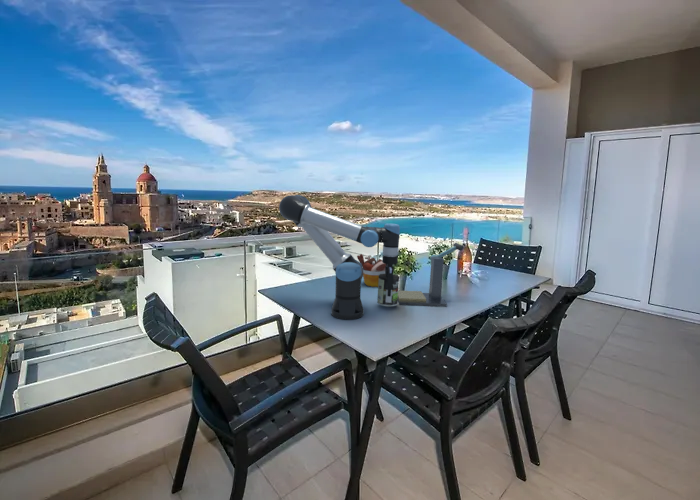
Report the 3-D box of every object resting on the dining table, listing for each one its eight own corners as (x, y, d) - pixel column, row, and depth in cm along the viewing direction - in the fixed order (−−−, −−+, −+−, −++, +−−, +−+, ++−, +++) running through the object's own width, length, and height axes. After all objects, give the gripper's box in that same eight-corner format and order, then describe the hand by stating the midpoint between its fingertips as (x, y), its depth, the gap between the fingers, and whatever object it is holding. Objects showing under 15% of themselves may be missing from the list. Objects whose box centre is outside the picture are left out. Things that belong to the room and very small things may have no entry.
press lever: (434, 265, 171) (431, 258, 171) (431, 261, 179) (428, 255, 179) (464, 249, 169) (461, 243, 169) (460, 247, 177) (456, 241, 177)
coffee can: (401, 303, 162) (403, 276, 160) (390, 308, 154) (392, 279, 152) (383, 298, 168) (385, 272, 166) (373, 303, 160) (374, 275, 158)
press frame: (399, 305, 164) (401, 260, 160) (395, 294, 182) (397, 253, 178) (446, 306, 164) (449, 261, 160) (438, 295, 181) (441, 255, 177)
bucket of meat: (384, 280, 211) (385, 251, 208) (392, 287, 195) (394, 255, 192) (354, 281, 207) (355, 251, 204) (360, 289, 191) (361, 256, 188)
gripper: (400, 260, 146) (397, 306, 150) (395, 251, 168) (392, 292, 172) (384, 259, 146) (381, 305, 150) (381, 251, 168) (378, 291, 172)
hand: (387, 298), depth 161 cm, fingers closed on coffee can, 10 cm apart
